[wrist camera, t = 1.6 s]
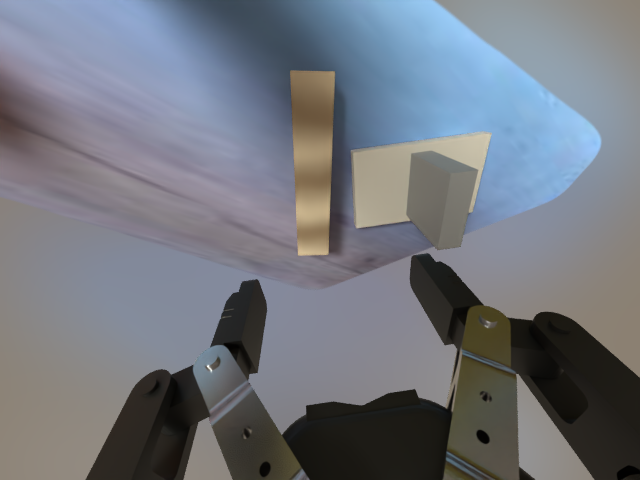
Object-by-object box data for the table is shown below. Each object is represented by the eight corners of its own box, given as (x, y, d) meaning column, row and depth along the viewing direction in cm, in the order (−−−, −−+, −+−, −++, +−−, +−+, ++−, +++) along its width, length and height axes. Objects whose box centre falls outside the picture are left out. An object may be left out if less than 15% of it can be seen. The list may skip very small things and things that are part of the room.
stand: (354, 223, 34) (372, 266, 25) (350, 149, 28) (372, 173, 20) (465, 207, 34) (522, 245, 25) (483, 131, 28) (561, 146, 20)
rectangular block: (325, 239, 35) (328, 254, 32) (298, 239, 35) (298, 255, 31) (330, 74, 25) (335, 71, 21) (291, 74, 24) (290, 70, 21)
